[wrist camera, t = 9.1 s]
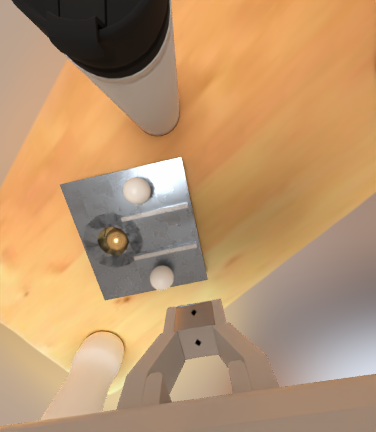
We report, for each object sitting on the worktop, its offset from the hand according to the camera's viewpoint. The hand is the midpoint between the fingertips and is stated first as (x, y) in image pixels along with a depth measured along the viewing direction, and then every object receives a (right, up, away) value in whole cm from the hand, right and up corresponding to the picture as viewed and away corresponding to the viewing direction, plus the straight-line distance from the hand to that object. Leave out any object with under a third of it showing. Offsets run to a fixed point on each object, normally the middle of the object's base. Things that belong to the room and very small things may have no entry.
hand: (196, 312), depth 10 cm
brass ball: (-11, +2, +18) cm, 21 cm away
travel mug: (-5, +20, +15) cm, 25 cm away
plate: (-8, +3, +19) cm, 21 cm away
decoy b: (-7, +9, +13) cm, 17 cm away
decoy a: (-4, -4, +17) cm, 18 cm away
